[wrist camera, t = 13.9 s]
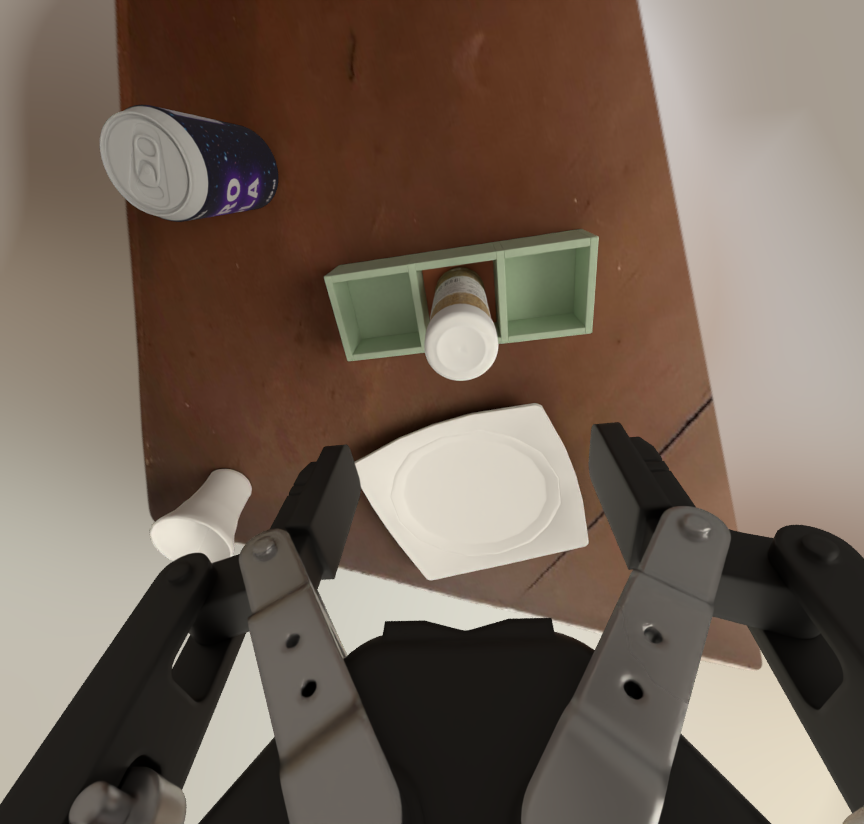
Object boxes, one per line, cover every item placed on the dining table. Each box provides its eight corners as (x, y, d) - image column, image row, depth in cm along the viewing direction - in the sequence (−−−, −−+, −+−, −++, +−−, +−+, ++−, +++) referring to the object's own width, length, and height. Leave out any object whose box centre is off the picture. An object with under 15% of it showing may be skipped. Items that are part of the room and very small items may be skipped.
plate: (425, 570, 57) (424, 587, 55) (341, 447, 46) (335, 461, 44) (594, 532, 51) (600, 549, 48) (543, 378, 40) (548, 390, 37)
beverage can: (211, 193, 32) (97, 202, 22) (214, 113, 29) (84, 81, 19) (278, 218, 33) (197, 238, 23) (287, 143, 30) (199, 127, 20)
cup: (192, 493, 52) (140, 556, 43) (208, 446, 47) (153, 506, 39) (256, 519, 54) (218, 584, 45) (277, 477, 49) (239, 540, 41)
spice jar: (443, 322, 36) (436, 390, 25) (428, 274, 34) (412, 325, 23) (491, 308, 35) (506, 372, 24) (478, 258, 33) (488, 302, 22)
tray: (582, 228, 32) (599, 236, 28) (577, 316, 36) (592, 333, 32) (338, 265, 35) (323, 276, 31) (358, 342, 39) (347, 361, 35)
